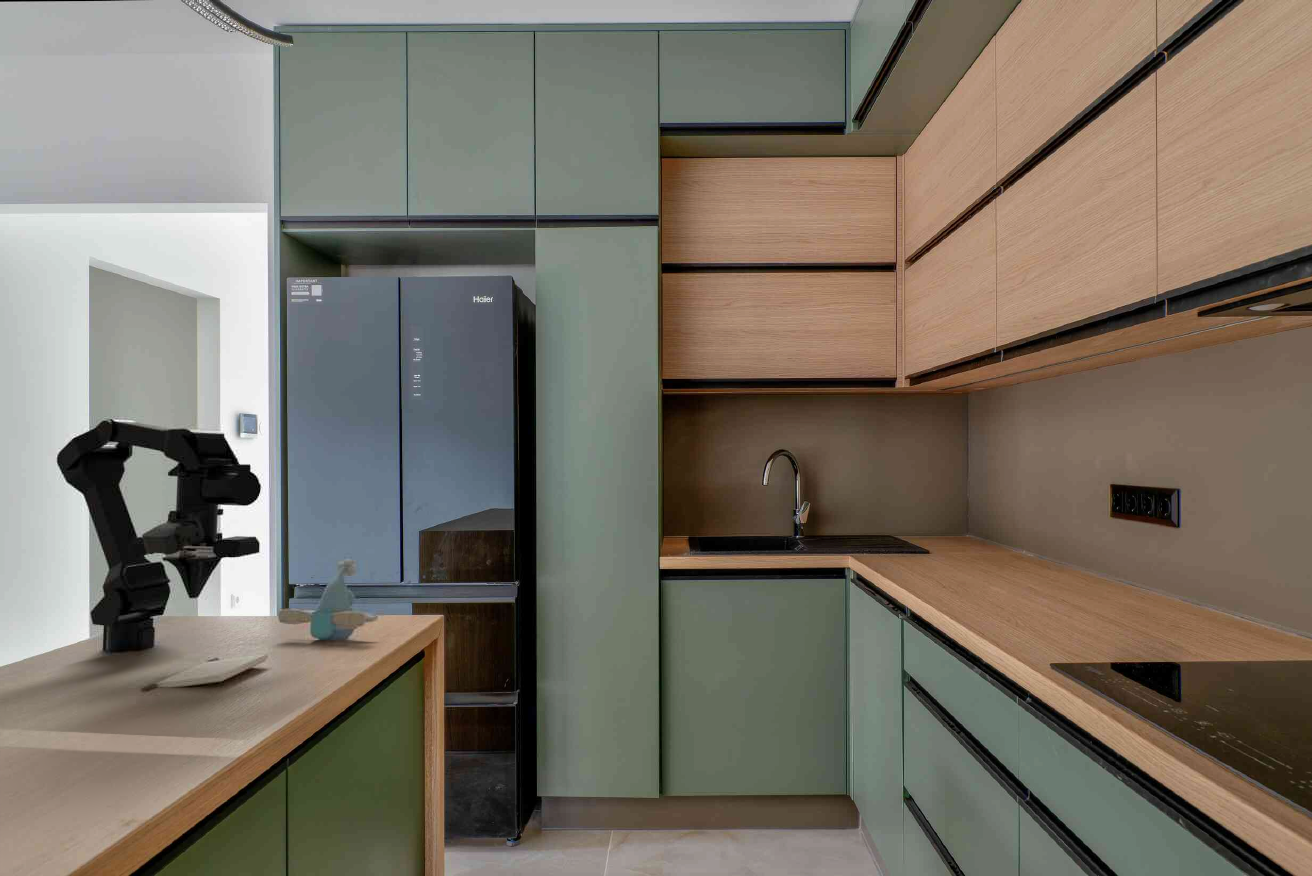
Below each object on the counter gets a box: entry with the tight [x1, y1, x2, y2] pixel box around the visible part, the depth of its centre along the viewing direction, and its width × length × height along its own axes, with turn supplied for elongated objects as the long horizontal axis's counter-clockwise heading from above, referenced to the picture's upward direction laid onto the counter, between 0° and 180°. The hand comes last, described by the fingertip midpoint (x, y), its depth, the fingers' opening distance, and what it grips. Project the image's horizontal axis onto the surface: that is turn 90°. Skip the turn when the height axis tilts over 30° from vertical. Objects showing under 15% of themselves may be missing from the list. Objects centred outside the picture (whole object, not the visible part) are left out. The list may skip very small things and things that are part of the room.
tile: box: [155, 653, 269, 688], centre depth 97 cm, size 10×10×1 cm
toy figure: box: [278, 558, 379, 642], centre depth 121 cm, size 17×10×15 cm, turn 84°
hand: (193, 597), depth 107 cm, fingers closed
